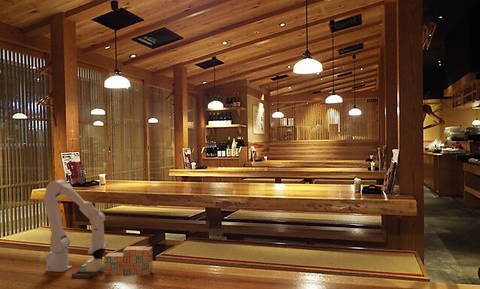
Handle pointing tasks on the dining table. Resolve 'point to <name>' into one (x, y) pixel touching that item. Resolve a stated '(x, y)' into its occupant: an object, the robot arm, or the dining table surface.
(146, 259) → the stack of blocks
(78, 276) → the trap pit
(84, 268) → the lane walls
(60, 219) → the robot arm
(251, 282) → the dining table surface
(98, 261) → the cream block
